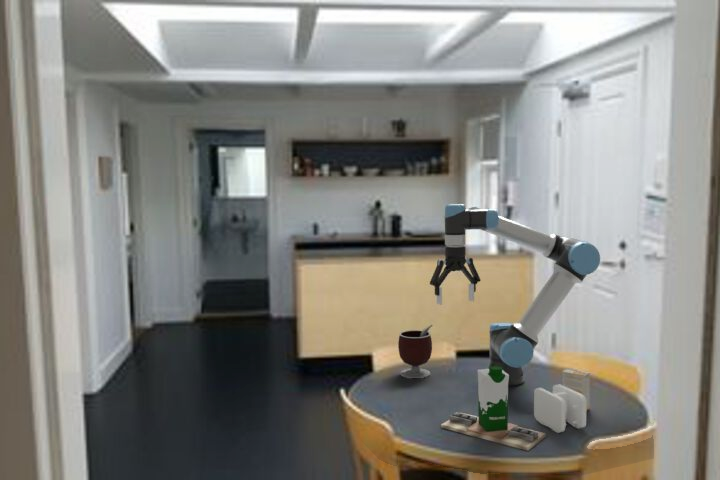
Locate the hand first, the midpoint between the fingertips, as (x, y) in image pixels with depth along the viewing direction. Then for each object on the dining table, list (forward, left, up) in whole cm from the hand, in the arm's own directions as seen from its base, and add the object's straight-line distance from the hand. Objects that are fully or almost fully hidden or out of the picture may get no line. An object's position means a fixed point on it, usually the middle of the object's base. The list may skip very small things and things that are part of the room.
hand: (455, 302), depth 236 cm
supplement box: (-30, +31, -35) cm, 55 cm away
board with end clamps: (+8, +37, -35) cm, 51 cm away
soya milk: (+8, +37, -33) cm, 50 cm away
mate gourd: (+3, -27, -35) cm, 44 cm away
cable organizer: (-15, +41, -35) cm, 56 cm away
